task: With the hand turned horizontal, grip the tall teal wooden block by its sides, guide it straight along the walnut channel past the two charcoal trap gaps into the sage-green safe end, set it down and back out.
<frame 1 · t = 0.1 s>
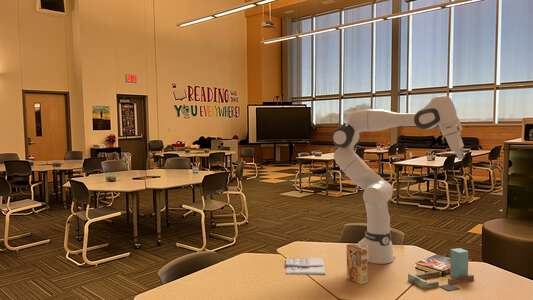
hand: (461, 158, 184), 52 cm above the table, tool tilted 20°, fingers open, 8 cm apart
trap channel: (439, 280, 178), on the table
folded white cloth: (304, 268, 197), on the table
candy box: (356, 281, 179), on the table
teal block: (459, 276, 181), on the table
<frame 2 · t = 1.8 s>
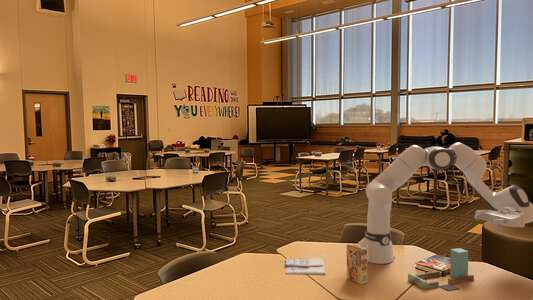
hand: (484, 219, 184), 24 cm above the table, tool horizontal, fingers open, 8 cm apart
nothing on the table moved.
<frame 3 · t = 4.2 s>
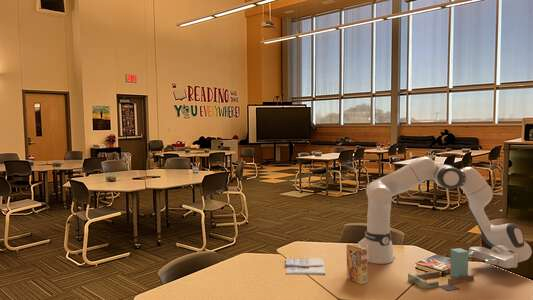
hand: (477, 258, 185), 7 cm above the table, tool horizontal, fingers open, 8 cm apart
nothing on the table moved.
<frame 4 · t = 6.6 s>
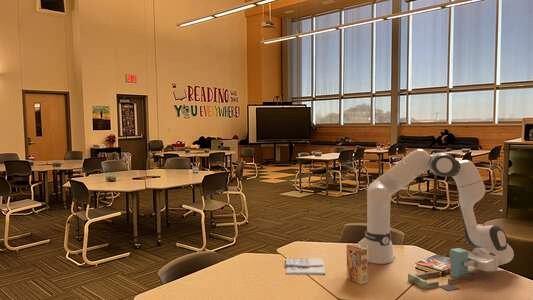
hand: (457, 261, 181), 7 cm above the table, tool horizontal, fingers closed on teal block, 5 cm apart
teal block: (459, 276, 181), on the table, touching gripper
everything else where it was.
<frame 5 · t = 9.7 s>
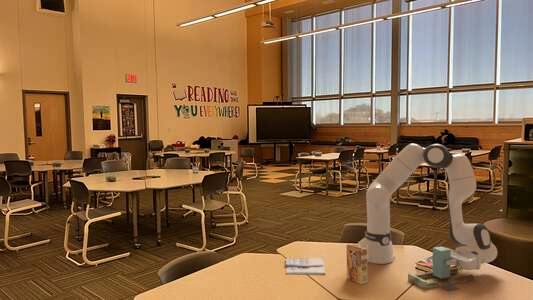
hand: (439, 260, 177), 9 cm above the table, tool horizontal, fingers closed on teal block, 5 cm apart
teal block: (441, 275, 178), point 2 cm above the table, touching gripper
everything else where it was.
when the fingers open (8 cm above the table, at t = 12.5 s): teal block stays where it is, on the table.
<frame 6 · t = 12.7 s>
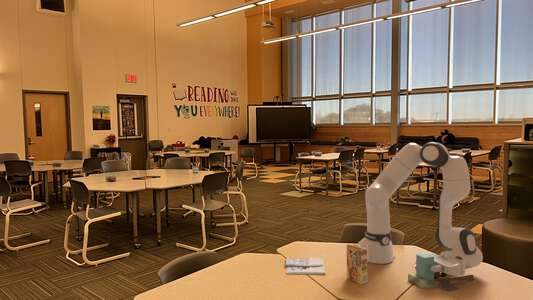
hand: (423, 265, 174), 8 cm above the table, tool horizontal, fingers open, 7 cm apart
teal block: (424, 282, 175), on the table
everything else where it was.
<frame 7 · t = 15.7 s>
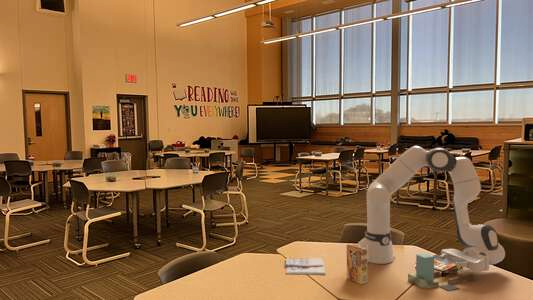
hand: (448, 261, 179), 8 cm above the table, tool horizontal, fingers open, 8 cm apart
nothing on the table moved.
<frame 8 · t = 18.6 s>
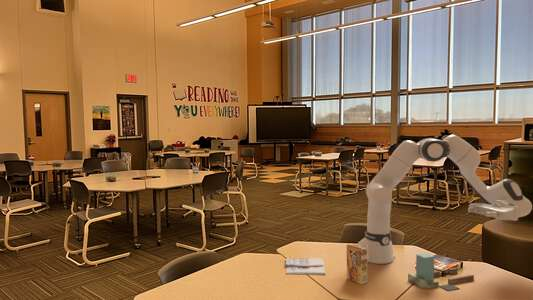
hand: (477, 212, 183), 28 cm above the table, tool horizontal, fingers open, 8 cm apart
nothing on the table moved.
at the end: teal block 0.3 cm from the target spot, on the table; teal block tilted 0°; the gripper is holding nothing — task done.
